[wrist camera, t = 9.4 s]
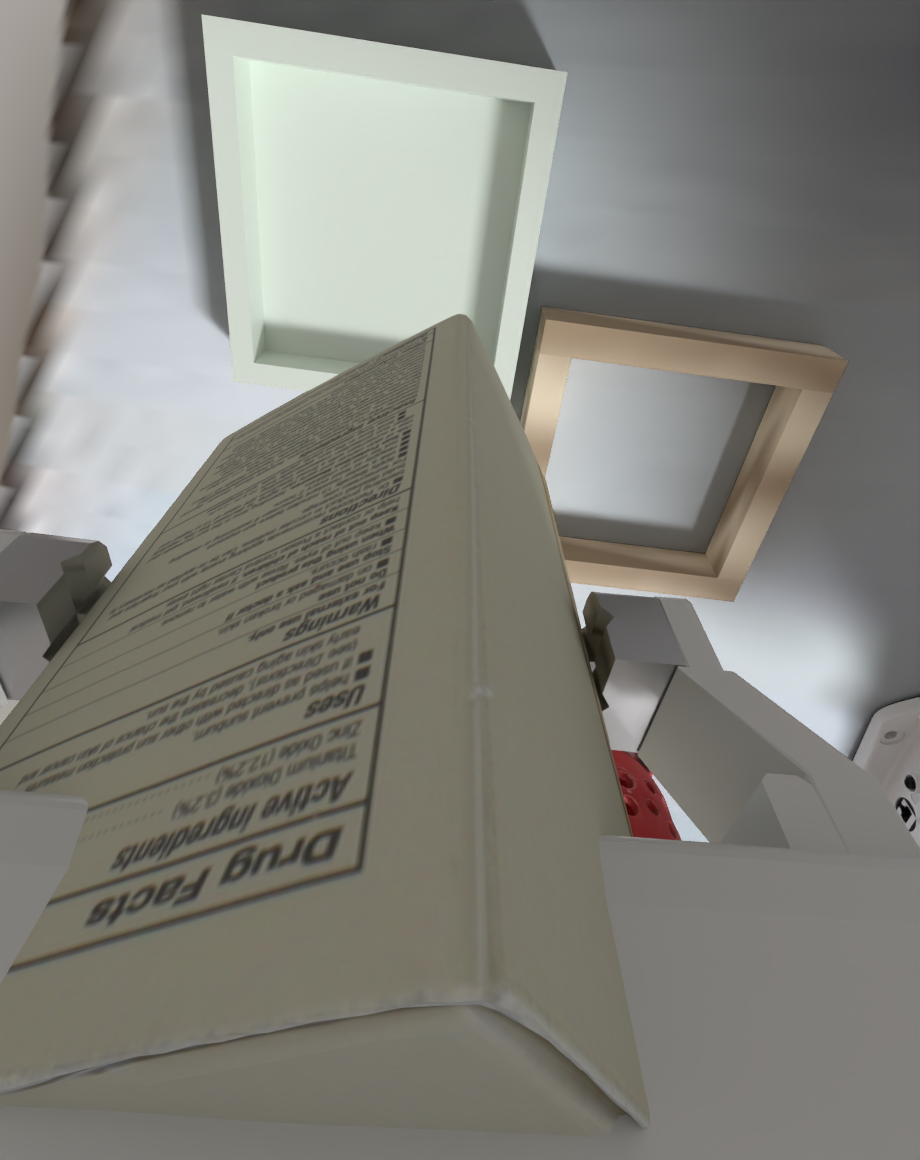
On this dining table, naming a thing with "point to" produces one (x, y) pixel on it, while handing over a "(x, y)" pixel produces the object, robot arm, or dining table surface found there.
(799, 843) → the robot arm
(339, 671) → the skincare box
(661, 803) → the plant pot
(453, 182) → the tray
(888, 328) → the dining table surface
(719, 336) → the wooden frame
